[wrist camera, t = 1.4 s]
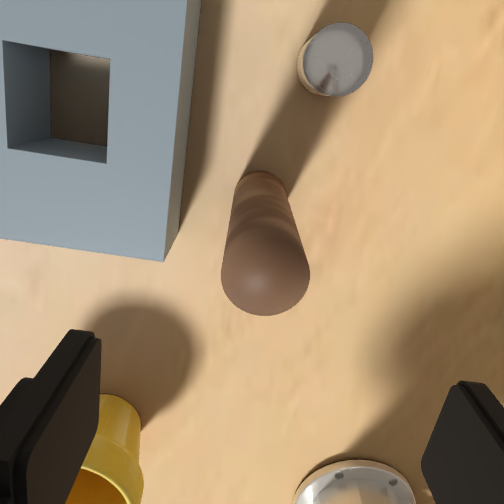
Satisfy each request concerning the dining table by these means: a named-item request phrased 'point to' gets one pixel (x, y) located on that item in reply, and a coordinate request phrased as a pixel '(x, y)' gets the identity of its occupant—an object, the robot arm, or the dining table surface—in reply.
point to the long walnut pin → (263, 249)
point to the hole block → (119, 125)
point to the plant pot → (111, 458)
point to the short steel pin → (335, 60)
